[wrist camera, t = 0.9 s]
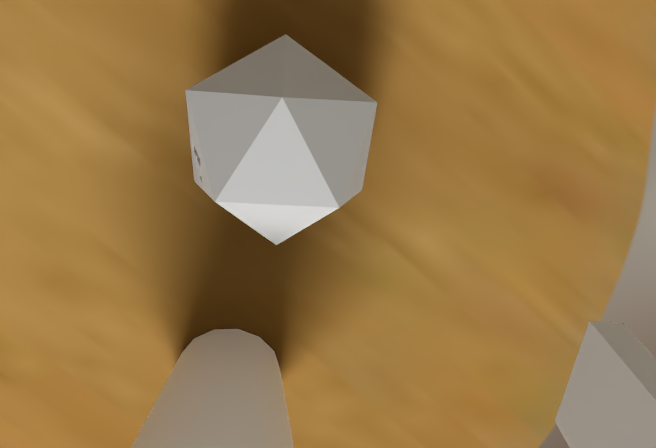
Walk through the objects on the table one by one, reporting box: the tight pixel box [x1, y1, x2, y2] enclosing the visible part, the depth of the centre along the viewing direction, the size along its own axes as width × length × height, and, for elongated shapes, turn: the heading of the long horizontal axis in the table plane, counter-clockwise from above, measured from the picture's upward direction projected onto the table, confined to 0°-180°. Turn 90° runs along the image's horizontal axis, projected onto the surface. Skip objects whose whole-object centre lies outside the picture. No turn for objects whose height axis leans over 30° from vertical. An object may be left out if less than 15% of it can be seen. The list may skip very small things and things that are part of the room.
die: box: [186, 34, 377, 245], centre depth 26 cm, size 8×9×10 cm
